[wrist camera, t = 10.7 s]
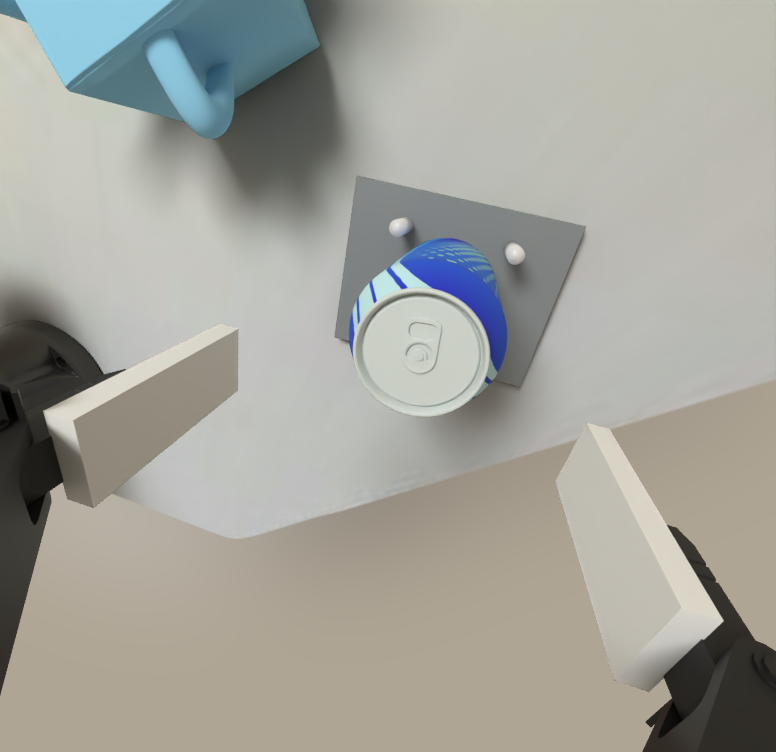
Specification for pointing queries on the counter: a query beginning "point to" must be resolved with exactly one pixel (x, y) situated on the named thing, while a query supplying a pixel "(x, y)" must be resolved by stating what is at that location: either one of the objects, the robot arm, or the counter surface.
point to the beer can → (429, 329)
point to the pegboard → (480, 229)
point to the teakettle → (169, 51)
